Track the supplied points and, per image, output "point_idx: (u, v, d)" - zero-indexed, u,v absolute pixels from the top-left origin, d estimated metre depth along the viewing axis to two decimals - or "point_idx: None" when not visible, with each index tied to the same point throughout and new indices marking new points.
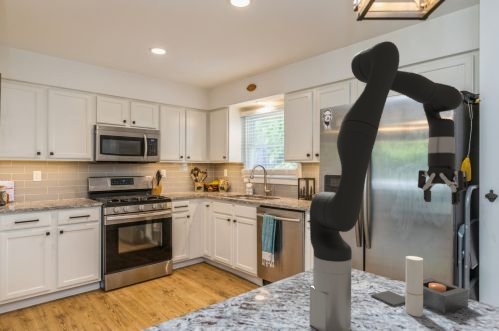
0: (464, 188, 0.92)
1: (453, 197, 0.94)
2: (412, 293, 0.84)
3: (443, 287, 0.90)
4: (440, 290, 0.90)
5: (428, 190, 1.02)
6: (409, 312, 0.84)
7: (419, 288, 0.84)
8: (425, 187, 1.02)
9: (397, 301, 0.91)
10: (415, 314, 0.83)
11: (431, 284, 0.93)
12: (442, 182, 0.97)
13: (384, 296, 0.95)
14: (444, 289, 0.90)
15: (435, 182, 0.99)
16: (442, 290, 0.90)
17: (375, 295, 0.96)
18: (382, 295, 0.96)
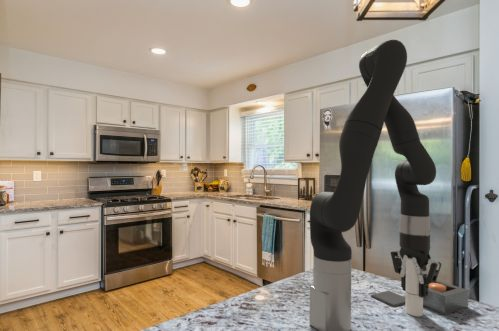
0: (432, 282, 0.81)
1: (420, 289, 0.83)
2: (412, 293, 0.84)
3: (443, 287, 0.90)
4: (440, 290, 0.90)
5: None
6: (409, 312, 0.84)
7: None
8: (403, 274, 0.87)
9: (397, 301, 0.91)
10: (415, 314, 0.83)
11: (431, 284, 0.93)
12: (415, 267, 0.84)
13: (384, 296, 0.95)
14: (444, 289, 0.90)
15: None
16: (442, 290, 0.90)
17: (375, 295, 0.96)
18: (382, 295, 0.96)
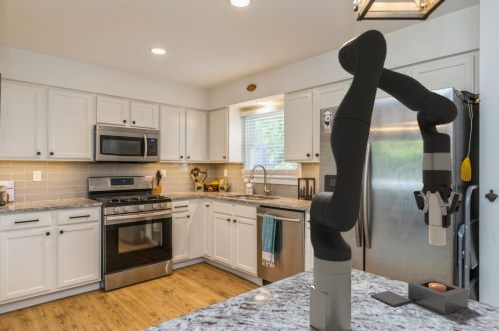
0: (454, 212, 0.87)
1: (443, 220, 0.89)
2: (436, 225, 0.90)
3: (443, 287, 0.90)
4: (440, 290, 0.90)
5: None
6: (433, 243, 0.91)
7: None
8: (426, 209, 0.94)
9: (397, 301, 0.91)
10: (439, 244, 0.90)
11: (431, 284, 0.93)
12: (438, 201, 0.91)
13: (384, 296, 0.95)
14: (444, 289, 0.90)
15: None
16: (442, 290, 0.90)
17: (375, 295, 0.96)
18: (382, 295, 0.96)
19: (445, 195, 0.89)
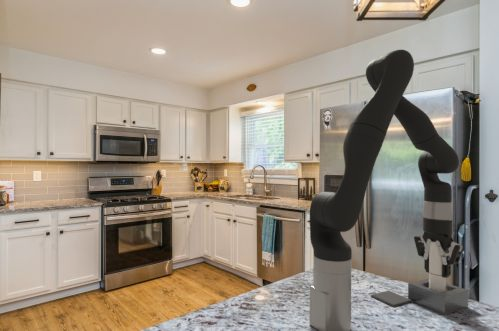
0: (455, 263, 0.87)
1: (443, 270, 0.89)
2: (436, 274, 0.90)
3: None
4: None
5: None
6: None
7: None
8: (426, 256, 0.94)
9: (397, 301, 0.91)
10: None
11: None
12: None
13: (384, 296, 0.95)
14: None
15: None
16: None
17: (375, 295, 0.96)
18: (382, 295, 0.96)
19: (445, 245, 0.89)
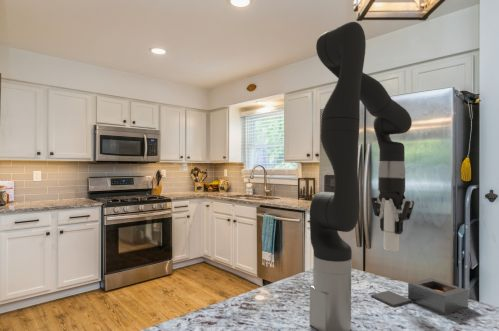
0: (406, 218, 0.90)
1: (396, 226, 0.92)
2: (389, 231, 0.93)
3: None
4: None
5: None
6: (386, 248, 0.94)
7: None
8: (381, 215, 0.97)
9: (397, 301, 0.91)
10: (392, 249, 0.93)
11: None
12: None
13: (384, 296, 0.95)
14: None
15: None
16: None
17: (375, 295, 0.96)
18: (382, 295, 0.96)
19: (398, 202, 0.92)
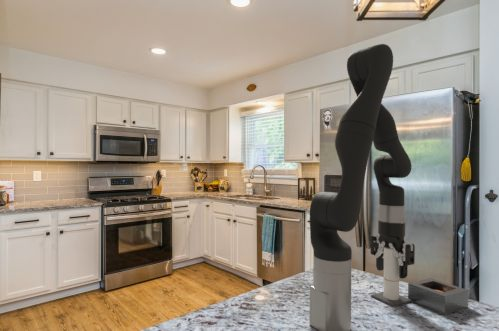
0: (410, 263, 0.89)
1: (400, 271, 0.91)
2: (389, 279, 0.93)
3: None
4: None
5: (380, 258, 0.98)
6: (386, 296, 0.93)
7: (395, 274, 0.92)
8: (377, 255, 0.98)
9: (397, 301, 0.91)
10: (391, 298, 0.92)
11: None
12: None
13: None
14: None
15: None
16: None
17: (375, 295, 0.96)
18: (382, 295, 0.96)
19: (398, 245, 0.91)
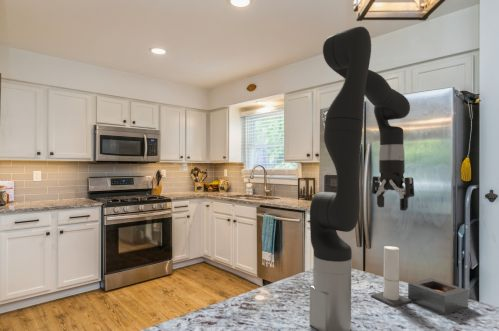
0: (410, 195, 0.95)
1: (401, 203, 0.97)
2: (389, 279, 0.93)
3: None
4: None
5: (381, 196, 1.05)
6: (386, 296, 0.93)
7: (395, 274, 0.92)
8: (378, 193, 1.04)
9: (397, 301, 0.91)
10: (391, 298, 0.92)
11: None
12: (392, 188, 1.00)
13: None
14: None
15: (386, 188, 1.02)
16: None
17: (375, 295, 0.96)
18: (382, 295, 0.96)
19: (397, 181, 0.98)
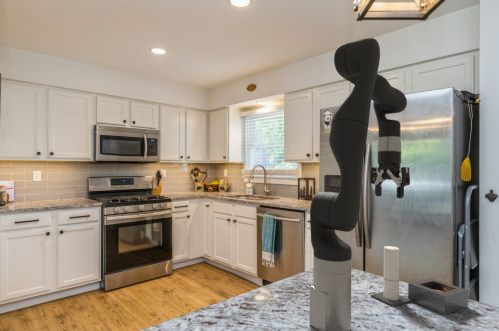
0: (406, 183, 1.01)
1: (398, 191, 1.03)
2: (389, 279, 0.93)
3: None
4: None
5: (379, 185, 1.11)
6: (386, 296, 0.93)
7: (395, 274, 0.92)
8: (376, 182, 1.11)
9: (397, 301, 0.91)
10: (391, 298, 0.92)
11: None
12: (389, 178, 1.06)
13: None
14: None
15: (384, 178, 1.08)
16: None
17: (375, 295, 0.96)
18: (382, 295, 0.96)
19: (394, 170, 1.04)
